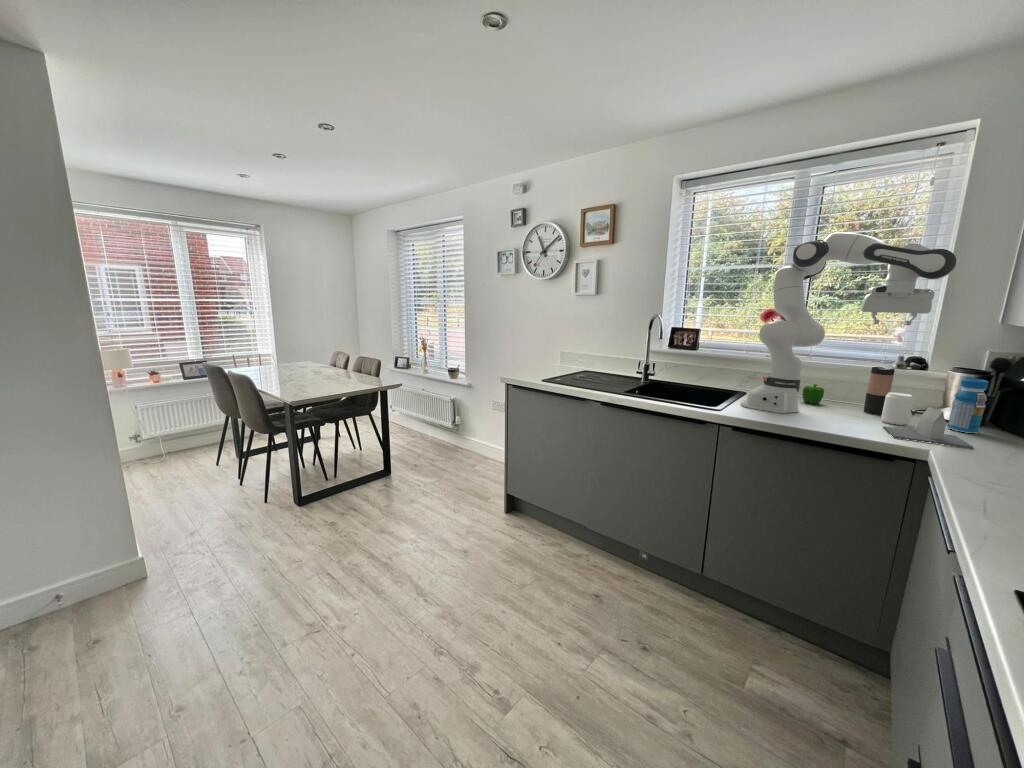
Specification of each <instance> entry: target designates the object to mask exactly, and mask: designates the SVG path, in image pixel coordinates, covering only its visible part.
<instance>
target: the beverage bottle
mask: <svg viewBox="0 0 1024 768" xmlns="http://www.w3.org/2000/svg"><path fill="white" fill-rule="evenodd" d="M988 386H989V380H984V379H980V378H965V377H964V378H962V379H961V381H960V388H961V389H959V390H958V391H957V392H956V393H955V395H954V397H955V399H954V400H953V401H952V405H951V406H952V407H951V410H950V414H949V419H948V423H947V425H946V428H947V429H948V428H949V429H948V430H950V429H952V430H956V431H961V432H968V433H977V434H978V433H979V432H980V426H981V423H982V420H983V415H984V413H985V410H986V408H987V404H986V402H987V401H988V397H987V394H986V393H985V391H987V389H988ZM952 430H951V431H952ZM956 431H955V432H956ZM961 432H960V433H961Z"/></svg>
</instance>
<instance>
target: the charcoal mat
mask: <svg viewBox="0 0 1024 768" xmlns="http://www.w3.org/2000/svg"><path fill="white" fill-rule="evenodd" d="M883 428H884V429H885V430H886V431H887V432H886V431H885V430H884V429H883ZM882 429H883V430H884V431H885V432H886V433H888V434H889V435H890V434H891V435H892V436H893V437H894V438H893V437H892V436H891V435H890V436H891V437H892V438H893V439H896V438H901V439H900V440H903V439H909V440H908V441H910V440H917V441H916V442H918V441H924V442H923V443H925V442H931V443H930V444H932V443H938V444H937V445H939V444H944V445H943V446H947V445H950V446H949V447H954V446H955V448H956V447H957V448H961V447H962V448H963V449H968V448H969V449H968V450H974V446H973V445H972V444H971V443H968V442H967V441H965V440H964V439H962V438H960V437H959V436H957V435H956V434H955V435H953V434H946V433H944V435H943V439H942V440H939V439H929V438H927V437H924V436H922V435H920V434H918V433H916V432H917V429H908V428H902V427H901V428H900V427H894V426H893V427H891V426H882Z"/></svg>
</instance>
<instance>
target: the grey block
mask: <svg viewBox="0 0 1024 768" xmlns="http://www.w3.org/2000/svg"><path fill="white" fill-rule="evenodd" d="M946 428H947V421H946V418H945V413H944V411H943V410H939V409H937V408H933V407H931V406H928V407H927V408H926V410H925V411H924V412H923V413H922V414H921V415H920V416H919V419H918V424H917V428H916V430H917V432H916V433H918V434H920V435H922V436H924V437H927V438H929V439H939V440H942V439H943V435H944V434H945V431H946Z"/></svg>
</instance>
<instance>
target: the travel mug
mask: <svg viewBox="0 0 1024 768" xmlns="http://www.w3.org/2000/svg"><path fill="white" fill-rule="evenodd" d="M895 370H896V369H895V368H890V369H888V368H885V367H882V366H872V367H871V370H870V375H869V380H868V384H867V389H866V394H865V400H864V405H863V412H864V413H866V414H868V415H869V414H870V415H874V414H876V415H875V416H882V412H883V407H884V402H885V398H886V395H887V394H888V393H889V392H891V391H892V385H893V382H894V381H893V380H894V375H895Z"/></svg>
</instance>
